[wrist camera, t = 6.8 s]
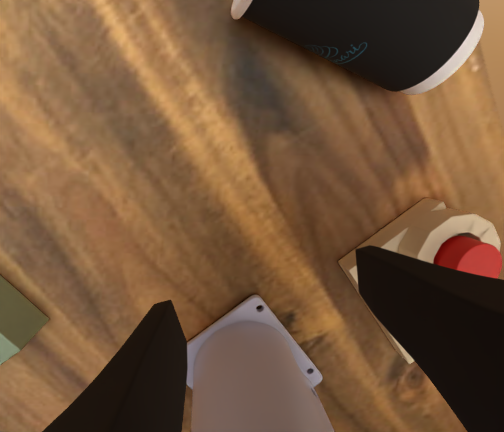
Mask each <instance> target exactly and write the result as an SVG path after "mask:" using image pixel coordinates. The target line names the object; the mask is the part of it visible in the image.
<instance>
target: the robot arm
mask: <svg viewBox="0 0 504 432" xmlns="http://www.w3.org/2000/svg"><path fill="white" fill-rule="evenodd" d="M355 253H356V265H357V277H358V289H359V294H360V295H361V297H362V298H363V300H364V301H365V303H366V304H367V306H368V307H369V309H370V310H371V312H372V313H373V314H374V315H375V317H376V318H377V319H378V320H379V321H380V322H381V324H382V325H383V326H384V327H385V328H386V329H387V330H388V332H389V333H390V334H391V335H392V336H393V337H394V338H395V339H396V341H397V342H398V343H399V344H400V345H401V346H402V347H403V348H404V349H405V351H406V352H407V353H408V354H409V355H410V356H411V357H412V358H413V360H414V361H415V362H416V363H417V364H418V365H419V366H420V368H421V369H422V370H423V371H424V373H425V374H426V375H427V376H428V378H429V379H430V380H431V382H432V383H433V384H434V386H435V387H436V388H437V390H438V391H439V392H440V394H441V395H442V396H443V398H444V399H445V400H446V402H447V403H448V404H449V406H450V407H451V409H452V410H453V412H454V413H455V414H456V416H457V417H458V419H459V420H460V421H461V423H462V424H463V426H464V427H465V429H466V430H467V431H468V432H504V280H501V279H496V278H491V277H486V276H481V275H476V274H472V273H467V272H463V271H459V270H455V269H451V268H447V267H444V266H440V265H436V264H433V263H429V262H426V261H422V260H419V259H416V258H413V257H409V256H406V255H403V254H400V253H397V252H393V251H390V250H387V249H383V248H380V247H376V246H372V245H368V246H365V247H361V248H357V249H355ZM259 305H262V307H261V308H260V309H256V307H257V306H259ZM310 368H311V369H310ZM308 369H310V370H308ZM321 381H322V375H321V373H320V371H319V370H318V369H317V368H316V366H315V365H314V364H313V362H312V361H311V360H310V359H309V357H308V356H307V355H306V354H305V352H304V351H303V350H302V349H301V347H300V346H299V345H298V344H297V342H296V341H295V340H294V339H293V337H292V336H291V335H290V334H289V332H288V331H287V330H286V328H285V327H284V326H283V325H282V323H281V322H280V321H279V320H278V318H277V317H276V316H275V315H274V313H273V312H272V311H271V310H270V308H269V307H268V306H267V305H266V303H265V302H264V301H263V300H262V298H261V297H260V296H259V295H252V296H250V297H249V298H248V299H246V300H245V301H244V302H242V303H241V304H239V305H238V306H237V307H235V308H234V309H233V310H231V311H230V312H228V313H227V314H226V315H224V316H223V317H222V318H220V319H219V320H218V321H216V322H215V323H213V324H212V325H211V326H209V327H208V328H207V329H205V330H204V331H202V332H201V333H200V334H198V335H197V336H196V337H194V338H193V339H192V340H190V341H189V342H187V341H186V338H185V336H184V333H183V330H182V328H181V325H180V322H179V320H178V317H177V314H176V312H175V309H174V306H173V304H172V301H171V300H168V301H164V302H160V303H157V304H154V305H153V306H152V308H151V309H150V310H149V311H148V313H147V314H146V315H145V317H144V318H143V320H142V321H141V322H140V324H139V325H138V326H137V328H136V329H135V330H134V332H133V333H132V334H131V335H130V337H129V338H128V339H127V341H126V342H125V343H124V345H123V346H122V347H121V348H120V350H119V351H118V352H117V353H116V354H115V356H114V357H113V358H112V359H111V361H110V362H109V363H108V364H107V365H106V367H105V368H104V369H103V370H102V371H101V373H100V374H99V375H98V376H97V377H96V378H95V379H94V380H93V382H92V383H91V384H90V385H89V386H88V387H87V388H86V389H85V390H84V391H83V392H82V393H81V394H80V395H79V396H78V397H77V399H76V400H75V401H74V402H73V403H72V404H71V405H70V406H69V407H68V408H67V409H66V410H65V411H64V412H63V413H62V414H61V415H59V416H58V417H57V418H56V419H55V420H54V421H53V422H52V423H51V424H50V425H49V426H48V427H47V428H46V429H45V430H43V431H42V432H181V431H182V421H183V412H184V402H185V392H186V384H187V385H188V386H189V387H190V388H191V389H192V390H193V396H192V416H191V432H335V431H334V429H333V427H332V425H331V423H330V420H329V418H328V416H327V414H326V412H325V410H324V408H323V406H322V403H321V401H320V399H319V397H318V395H317V393H316V391H315V389H314V387H315V386H316V385H317V384H319V383H320V382H321Z"/></svg>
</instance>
